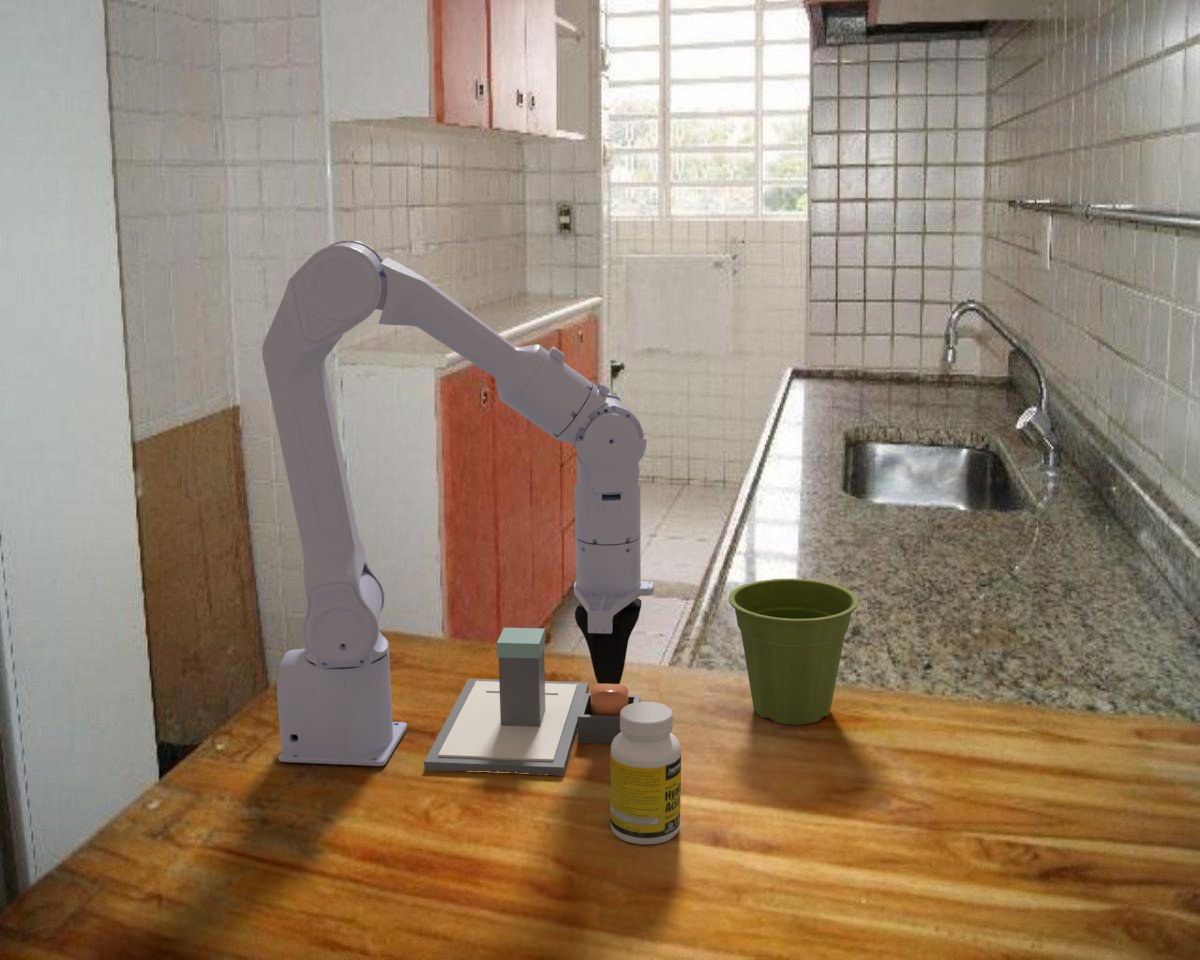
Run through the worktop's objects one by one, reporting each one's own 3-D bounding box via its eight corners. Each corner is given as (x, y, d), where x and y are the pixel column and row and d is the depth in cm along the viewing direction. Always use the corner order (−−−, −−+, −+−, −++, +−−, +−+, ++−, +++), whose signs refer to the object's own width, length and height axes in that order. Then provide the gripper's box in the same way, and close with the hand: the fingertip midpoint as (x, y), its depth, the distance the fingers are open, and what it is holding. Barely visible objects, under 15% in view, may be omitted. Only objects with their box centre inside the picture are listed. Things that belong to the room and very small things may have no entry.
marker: (499, 726, 111) (496, 642, 109) (506, 708, 115) (503, 627, 113) (541, 727, 111) (539, 643, 109) (546, 709, 114) (545, 628, 112)
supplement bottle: (675, 850, 92) (676, 729, 90) (604, 843, 93) (603, 724, 91) (685, 815, 97) (685, 699, 95) (617, 808, 98) (616, 694, 96)
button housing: (577, 742, 110) (577, 716, 109) (584, 717, 115) (584, 693, 114) (635, 744, 109) (635, 718, 109) (640, 719, 114) (640, 694, 114)
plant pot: (805, 677, 124) (809, 570, 121) (880, 722, 113) (885, 606, 111) (703, 699, 119) (705, 588, 116) (771, 748, 108) (774, 627, 106)
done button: (588, 717, 110) (588, 697, 110) (593, 702, 113) (592, 682, 113) (626, 719, 110) (626, 698, 109) (629, 703, 113) (629, 683, 113)
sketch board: (424, 770, 105) (423, 759, 105) (468, 686, 122) (468, 676, 122) (563, 776, 104) (563, 764, 103) (588, 690, 121) (588, 680, 121)
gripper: (647, 562, 100) (647, 716, 103) (658, 515, 114) (658, 652, 117) (561, 560, 101) (564, 713, 104) (583, 513, 115) (585, 649, 118)
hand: (609, 680), depth 111 cm, fingers closed
